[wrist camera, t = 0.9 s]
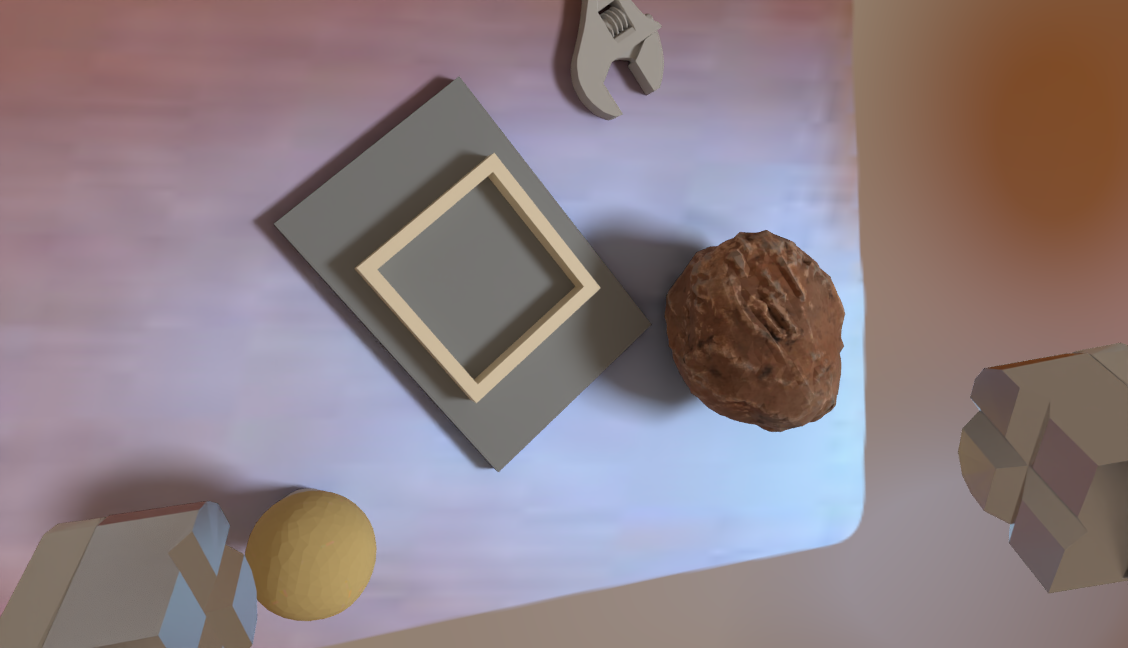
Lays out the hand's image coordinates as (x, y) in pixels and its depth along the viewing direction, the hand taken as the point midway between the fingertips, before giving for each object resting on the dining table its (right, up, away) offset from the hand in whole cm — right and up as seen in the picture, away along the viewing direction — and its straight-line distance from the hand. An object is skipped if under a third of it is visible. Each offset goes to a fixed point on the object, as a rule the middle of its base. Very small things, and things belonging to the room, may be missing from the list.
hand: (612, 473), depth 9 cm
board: (-6, +5, +41) cm, 42 cm away
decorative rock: (+10, +1, +48) cm, 49 cm away
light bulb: (-16, -10, +39) cm, 43 cm away
